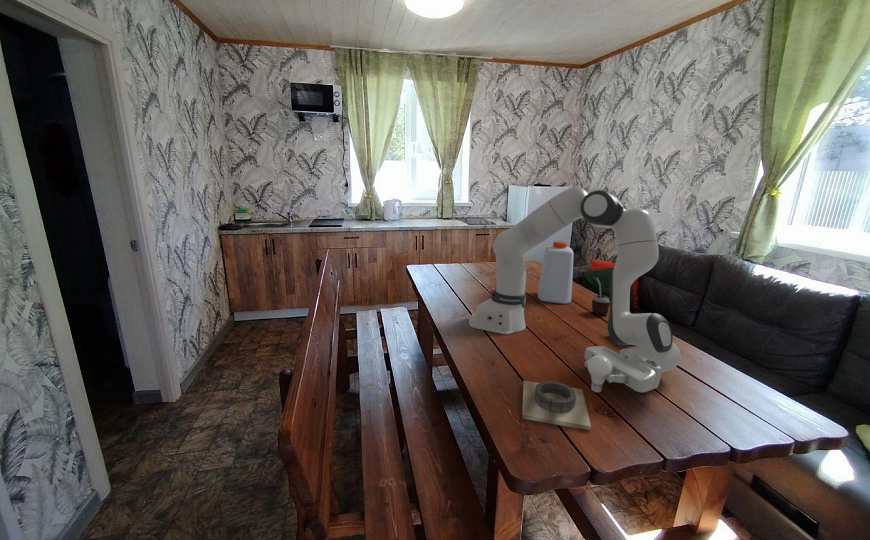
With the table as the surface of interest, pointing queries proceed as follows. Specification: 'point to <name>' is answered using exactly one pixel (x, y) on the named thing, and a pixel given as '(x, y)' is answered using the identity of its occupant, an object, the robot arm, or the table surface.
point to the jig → (555, 404)
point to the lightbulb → (598, 371)
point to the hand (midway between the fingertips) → (596, 371)
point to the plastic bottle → (556, 274)
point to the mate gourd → (600, 303)
